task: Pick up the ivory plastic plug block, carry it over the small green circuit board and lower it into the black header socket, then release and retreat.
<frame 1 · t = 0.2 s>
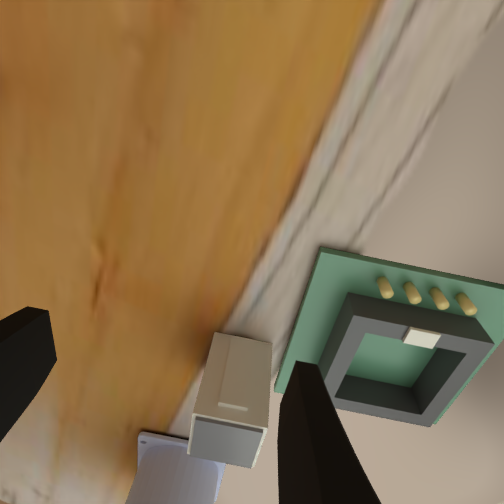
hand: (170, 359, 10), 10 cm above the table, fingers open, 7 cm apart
plug: (238, 357, 24), on the table
header socket: (384, 344, 22), on the table
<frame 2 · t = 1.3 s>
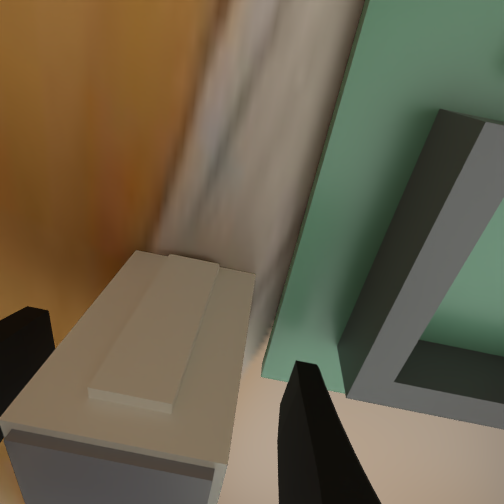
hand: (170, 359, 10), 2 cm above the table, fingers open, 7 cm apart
plug: (190, 308, 12), on the table
header socket: (497, 267, 10), on the table
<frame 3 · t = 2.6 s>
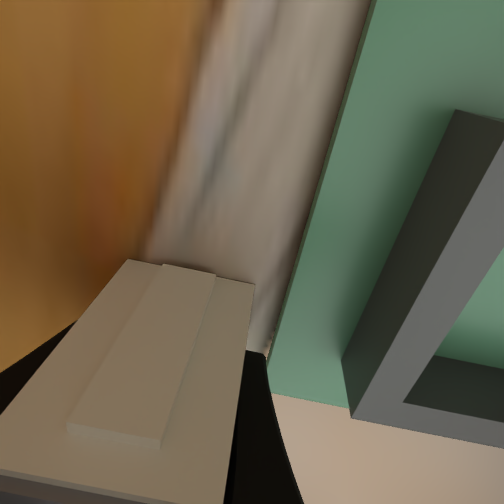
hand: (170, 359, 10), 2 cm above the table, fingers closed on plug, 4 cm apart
plug: (186, 319, 11), on the table, touching gripper
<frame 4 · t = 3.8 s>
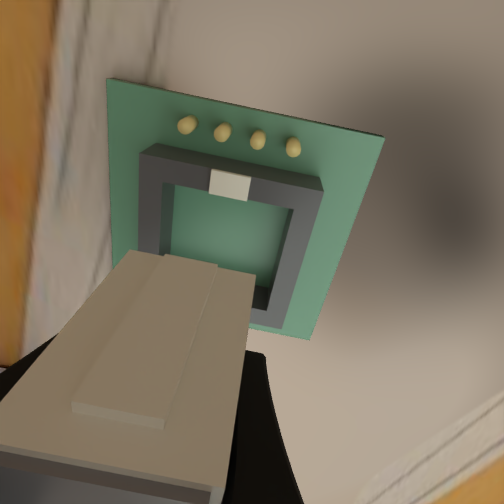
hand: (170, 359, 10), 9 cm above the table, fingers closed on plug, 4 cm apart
plug: (187, 311, 11), point 7 cm above the table, touching gripper
header socket: (228, 228, 18), on the table
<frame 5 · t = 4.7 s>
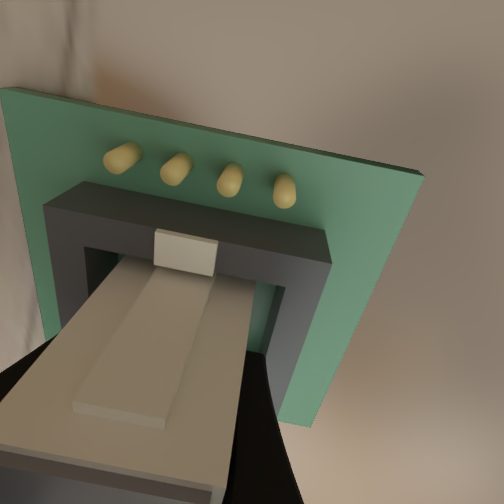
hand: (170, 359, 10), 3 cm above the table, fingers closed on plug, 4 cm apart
plug: (188, 310, 11), point 1 cm above the table, touching gripper
header socket: (197, 290, 13), on the table
when the fingers open (3 cm above the table, at t = 5.5 s): plug stays where it is, resting on header socket.
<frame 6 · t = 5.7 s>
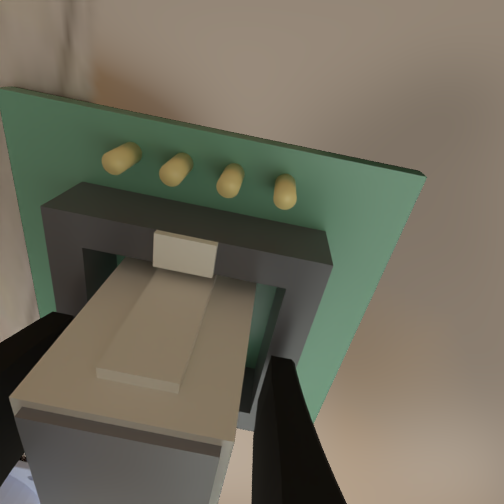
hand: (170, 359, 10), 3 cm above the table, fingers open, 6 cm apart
plug: (194, 297, 12), point 1 cm above the table, touching header socket
header socket: (197, 292, 13), on the table
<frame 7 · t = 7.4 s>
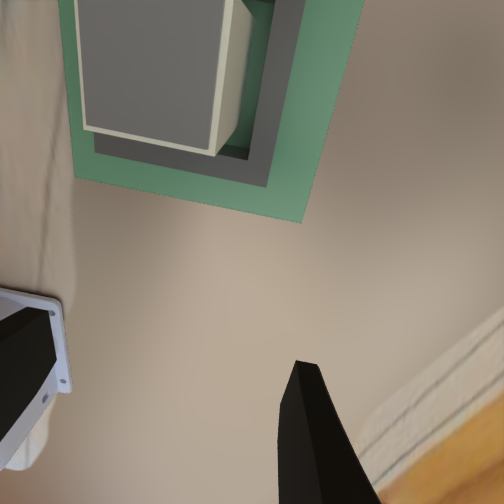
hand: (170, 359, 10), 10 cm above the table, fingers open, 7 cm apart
plug: (200, 65, 14), point 1 cm above the table, touching header socket
header socket: (202, 71, 15), on the table
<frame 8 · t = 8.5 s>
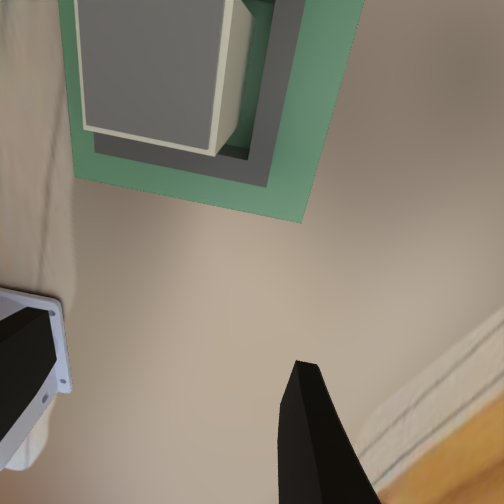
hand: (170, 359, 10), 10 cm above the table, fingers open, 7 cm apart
plug: (200, 65, 14), point 1 cm above the table, touching header socket
header socket: (202, 71, 15), on the table
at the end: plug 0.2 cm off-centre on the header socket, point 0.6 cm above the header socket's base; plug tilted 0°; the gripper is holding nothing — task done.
